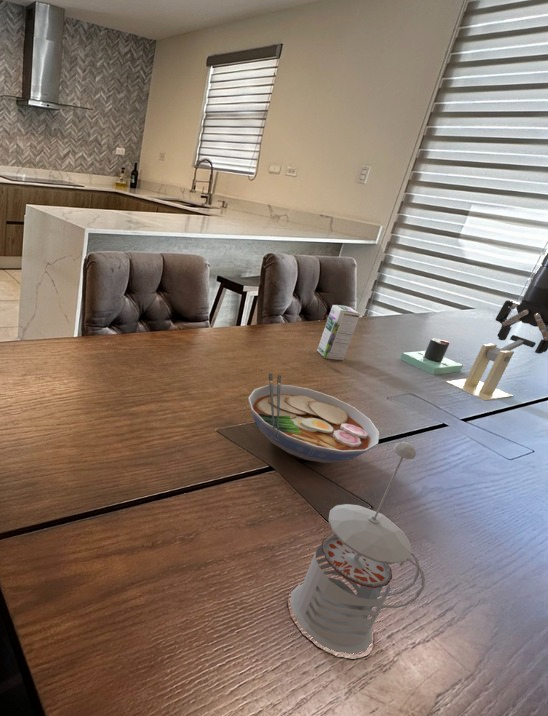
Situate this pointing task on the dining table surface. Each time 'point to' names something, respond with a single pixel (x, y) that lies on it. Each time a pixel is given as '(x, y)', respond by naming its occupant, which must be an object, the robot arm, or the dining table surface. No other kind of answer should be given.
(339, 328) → the syrup box
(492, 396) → the wooden stand
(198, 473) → the dining table surface
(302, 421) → the ramen bowl
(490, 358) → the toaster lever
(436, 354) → the black sushi roll
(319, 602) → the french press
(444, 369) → the panel
